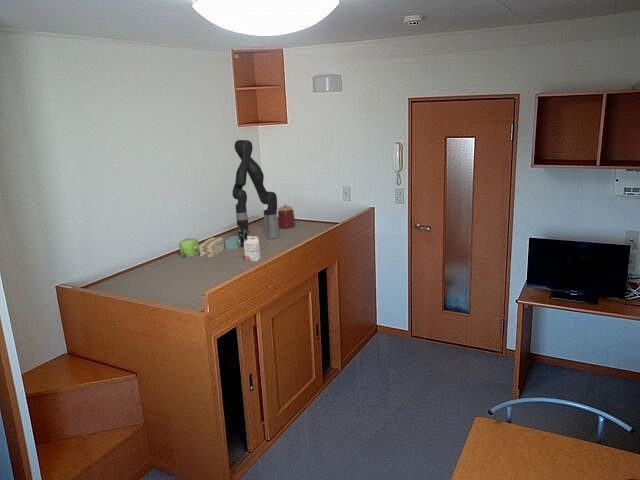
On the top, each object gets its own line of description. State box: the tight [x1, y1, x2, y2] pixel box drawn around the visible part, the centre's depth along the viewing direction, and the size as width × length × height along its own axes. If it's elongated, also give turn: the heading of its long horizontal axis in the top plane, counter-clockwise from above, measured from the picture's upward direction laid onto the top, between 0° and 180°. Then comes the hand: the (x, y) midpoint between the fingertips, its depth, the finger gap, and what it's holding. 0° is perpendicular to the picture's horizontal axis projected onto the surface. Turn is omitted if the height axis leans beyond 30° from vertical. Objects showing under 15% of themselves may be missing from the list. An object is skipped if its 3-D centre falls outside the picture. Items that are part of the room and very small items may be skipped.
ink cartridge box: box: [243, 235, 261, 262], centre depth 332 cm, size 9×5×15 cm, turn 65°
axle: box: [223, 238, 248, 245], centre depth 367 cm, size 18×4×4 cm, turn 80°
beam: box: [199, 237, 225, 258], centre depth 356 cm, size 9×20×8 cm, turn 170°
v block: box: [224, 235, 243, 250], centre depth 367 cm, size 8×13×6 cm, turn 170°
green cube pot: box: [178, 238, 200, 257], centre depth 354 cm, size 18×10×10 cm, turn 167°
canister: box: [277, 204, 296, 229], centre depth 413 cm, size 13×13×18 cm
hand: (244, 241), depth 366 cm, fingers open, 8 cm apart
